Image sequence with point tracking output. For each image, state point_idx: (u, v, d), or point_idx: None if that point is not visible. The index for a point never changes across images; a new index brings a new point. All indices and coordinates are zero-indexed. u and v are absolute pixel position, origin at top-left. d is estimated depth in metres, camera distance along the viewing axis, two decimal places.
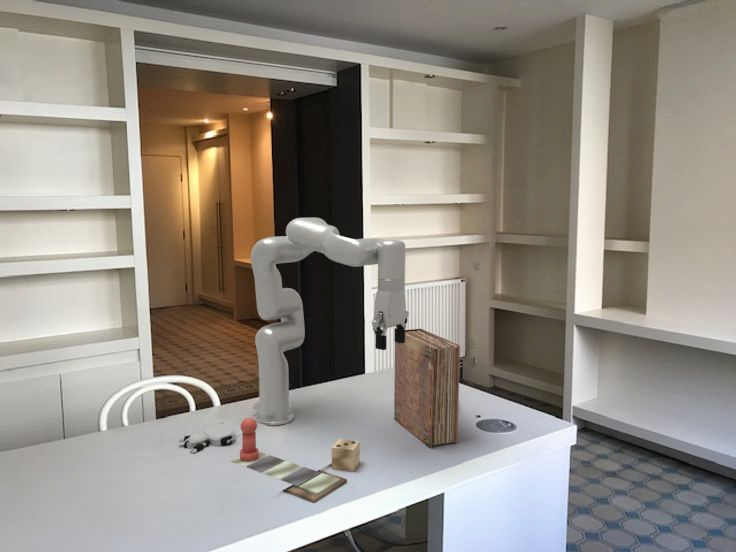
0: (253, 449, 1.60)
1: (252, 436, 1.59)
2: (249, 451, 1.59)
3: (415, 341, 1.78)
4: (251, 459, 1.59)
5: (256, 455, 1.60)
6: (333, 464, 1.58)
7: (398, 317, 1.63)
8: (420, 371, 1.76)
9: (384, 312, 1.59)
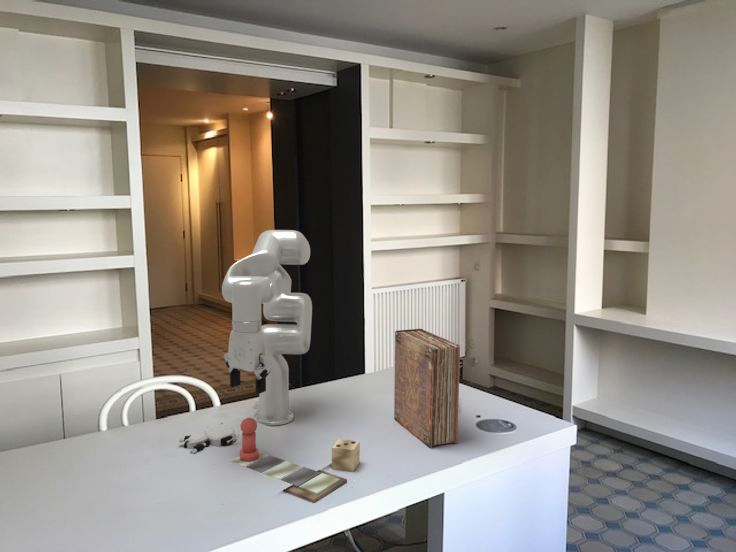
0: (253, 449, 1.60)
1: (252, 436, 1.59)
2: (249, 451, 1.59)
3: (415, 341, 1.78)
4: (251, 459, 1.59)
5: (256, 455, 1.60)
6: (333, 464, 1.58)
7: None
8: (420, 371, 1.76)
9: (263, 353, 1.56)
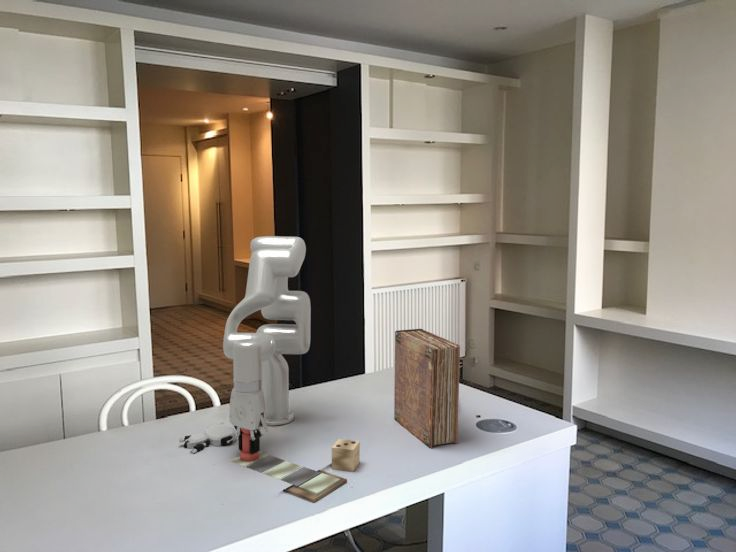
0: None
1: None
2: (249, 451, 1.59)
3: (415, 341, 1.78)
4: (251, 459, 1.59)
5: (256, 455, 1.60)
6: (333, 464, 1.58)
7: None
8: (420, 371, 1.76)
9: (264, 412, 1.58)
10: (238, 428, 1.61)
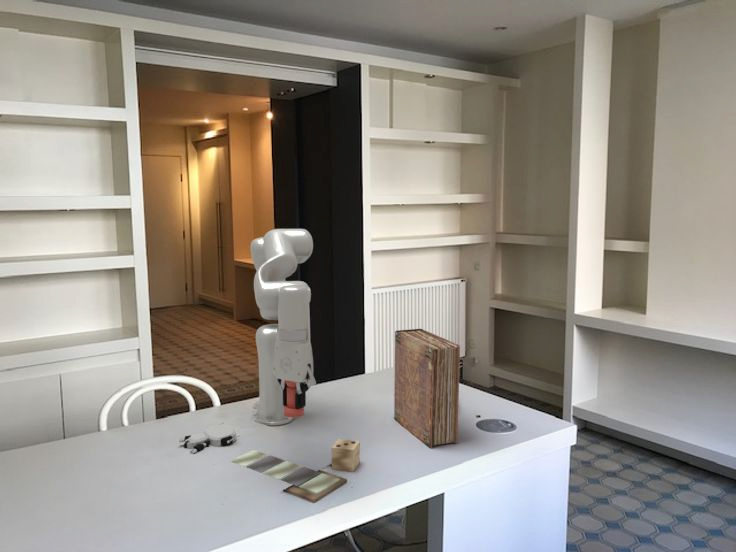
0: None
1: None
2: (294, 406, 1.48)
3: (415, 341, 1.78)
4: (297, 414, 1.47)
5: (302, 411, 1.49)
6: (333, 464, 1.58)
7: None
8: (420, 371, 1.76)
9: (311, 363, 1.46)
10: (282, 382, 1.49)
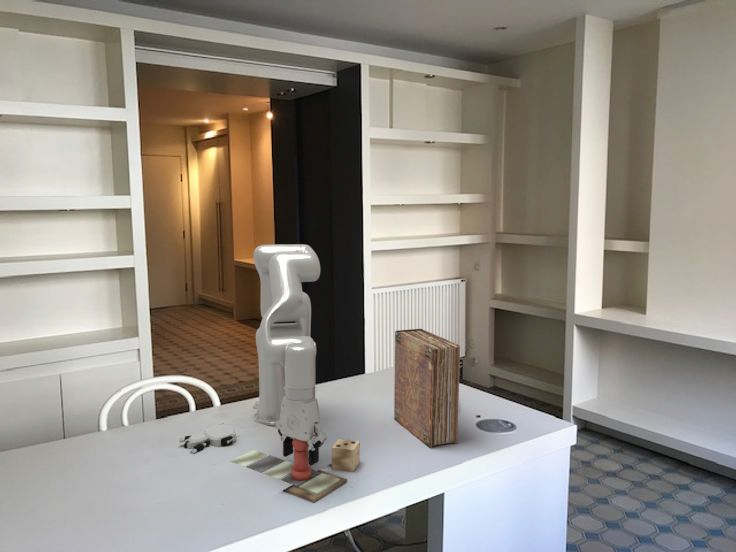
0: (306, 467, 1.49)
1: (305, 453, 1.49)
2: (302, 469, 1.49)
3: (415, 341, 1.78)
4: (304, 478, 1.48)
5: (309, 473, 1.49)
6: (333, 464, 1.58)
7: None
8: (420, 371, 1.76)
9: (318, 421, 1.47)
10: (284, 435, 1.51)
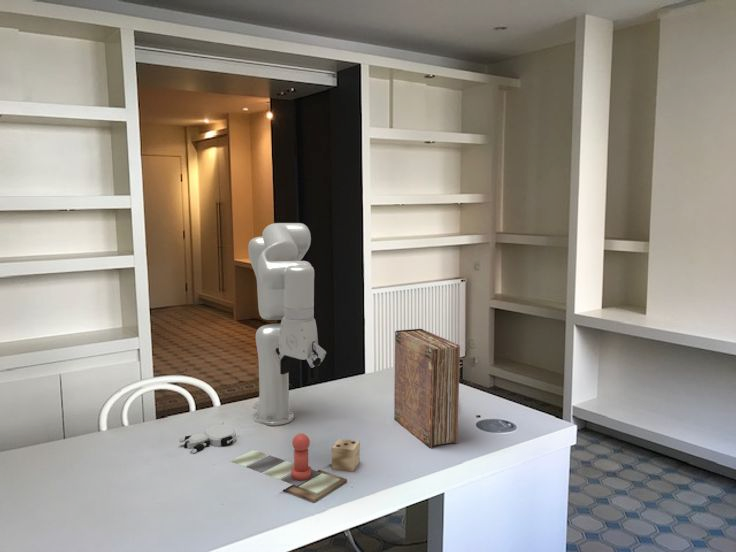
0: (306, 467, 1.49)
1: (305, 453, 1.49)
2: (302, 469, 1.49)
3: (415, 341, 1.78)
4: (304, 478, 1.48)
5: (309, 474, 1.49)
6: (333, 464, 1.58)
7: None
8: (420, 371, 1.76)
9: (316, 341, 1.52)
10: None
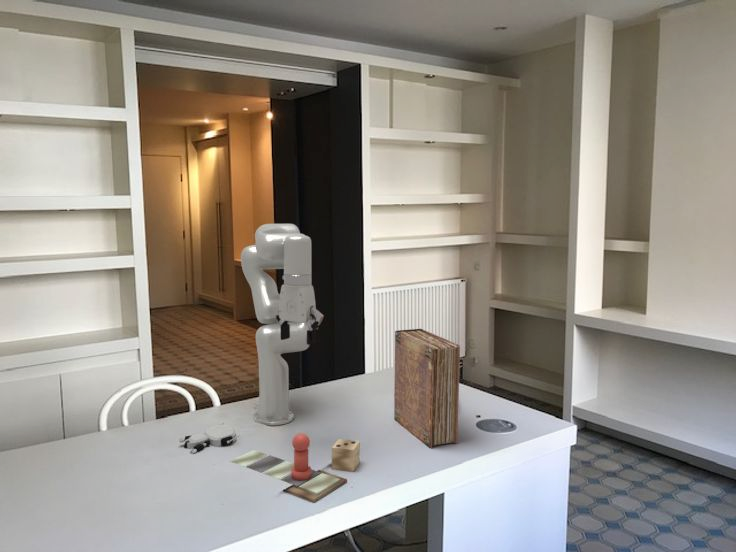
0: (306, 467, 1.49)
1: (305, 453, 1.49)
2: (302, 469, 1.49)
3: (415, 341, 1.78)
4: (304, 478, 1.48)
5: (309, 474, 1.49)
6: (333, 464, 1.58)
7: None
8: (420, 371, 1.76)
9: (314, 306, 1.61)
10: (282, 319, 1.65)
